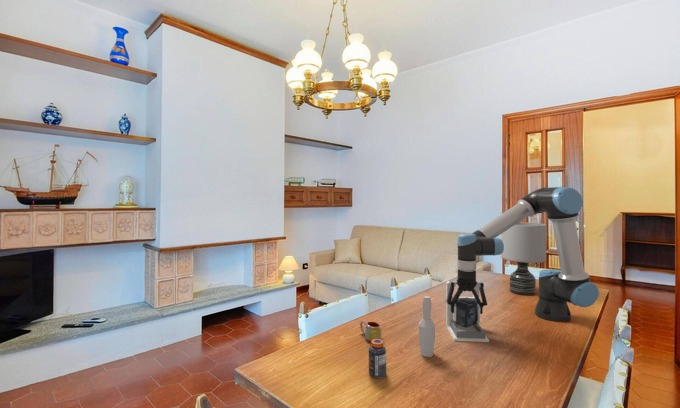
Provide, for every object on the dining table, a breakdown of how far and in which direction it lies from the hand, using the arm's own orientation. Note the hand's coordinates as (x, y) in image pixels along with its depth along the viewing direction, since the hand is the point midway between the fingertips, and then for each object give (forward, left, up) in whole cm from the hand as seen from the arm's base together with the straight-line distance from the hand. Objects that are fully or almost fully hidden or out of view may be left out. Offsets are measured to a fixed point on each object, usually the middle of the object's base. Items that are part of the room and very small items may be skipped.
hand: (466, 320), depth 142 cm
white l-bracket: (0, 0, -6) cm, 6 cm away
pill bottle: (+39, +35, -6) cm, 53 cm away
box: (0, 0, -2) cm, 2 cm away
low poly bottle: (+20, +20, -6) cm, 29 cm away
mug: (+42, +7, -6) cm, 43 cm away
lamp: (-51, -65, -6) cm, 83 cm away
